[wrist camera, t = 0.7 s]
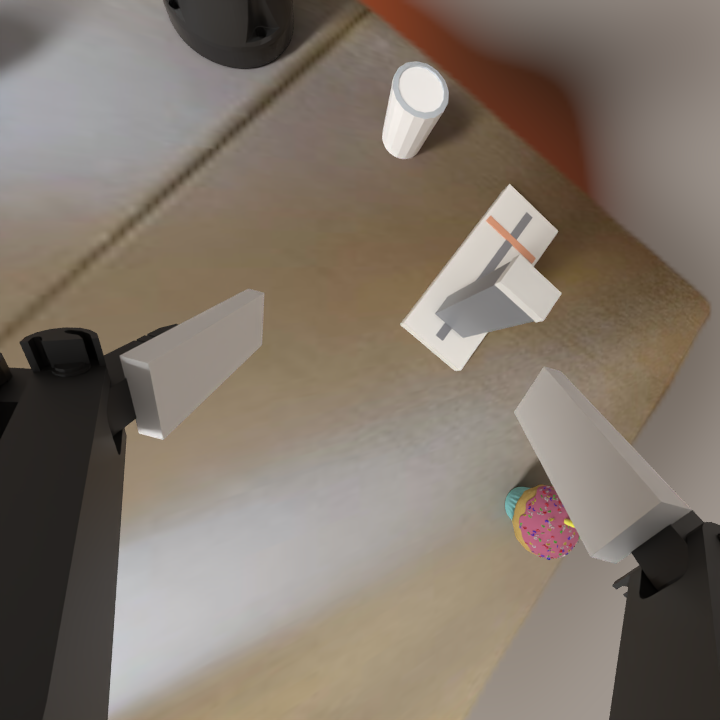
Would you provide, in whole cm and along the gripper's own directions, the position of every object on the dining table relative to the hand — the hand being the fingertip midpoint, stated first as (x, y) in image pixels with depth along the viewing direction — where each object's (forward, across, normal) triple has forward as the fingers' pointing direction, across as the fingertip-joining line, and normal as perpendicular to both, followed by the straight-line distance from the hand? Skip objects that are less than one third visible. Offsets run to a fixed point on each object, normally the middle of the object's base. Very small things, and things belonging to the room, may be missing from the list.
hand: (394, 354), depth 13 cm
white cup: (+38, -4, +14) cm, 40 cm away
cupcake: (+16, +25, -26) cm, 39 cm away
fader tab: (+25, +9, -5) cm, 27 cm away
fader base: (+31, +12, 0) cm, 33 cm away
